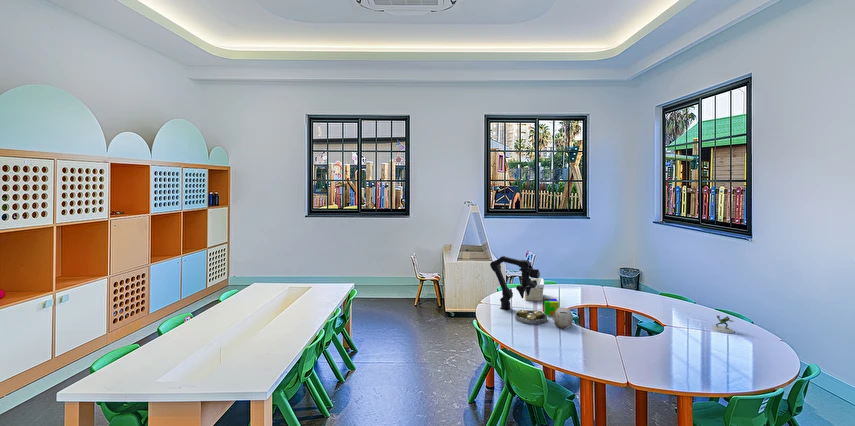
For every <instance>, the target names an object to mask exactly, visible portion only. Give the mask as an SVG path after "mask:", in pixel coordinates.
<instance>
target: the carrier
mask: <svg viewBox="0 0 855 426" xmlns="http://www.w3.org/2000/svg"><path fill="white" fill-rule="evenodd" d="M521 310H522V312H524V310H525V309H521ZM526 310H527V311H528V312H529V313H528V315H527V317H519V316H518V311H517V312H515V313H514V316H515V317H514V318H515V321H517V322H519V323H521V324H525V325H542V324H545V323H546V322H547V320H548V317H547V316H548V315H546V314H544V312H543V310H542V311H541V310H532V309H531V310H529V309H526Z"/></svg>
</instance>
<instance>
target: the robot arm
mask: <svg viewBox="0 0 855 426" xmlns="http://www.w3.org/2000/svg"><path fill="white" fill-rule="evenodd" d="M503 263H507V264H511V265H516V266H518V267H519V269H518V271H519V272H521V278H520V280H521V283H520V284H519V285H517V286H516V290H517V292H518V293H519V294H520V297H521V299H524V298H525V291H526V292H527V295H528V296H529V293H530V290H531V288H535V287H536V285H537V281H536V280H535V281H531V279H530V278H537V279H539V278H541V277H540V276H541V272H540V270H539V268H533V266H532V264H531V261H530V260H527V259H517V258H512V257H508V256H505V255H502V256H500V257H499V258H497V259H496V260H493V261H490V264H489V266H490V268H491V270H492V271H493V272H494V273H495V275H496V278H497V280H498V283H499V285H500V288H501V291H502V292H501V294H502V297H501V298H500V299H499V300H500V307H499V309H500V310H505V311H508V310H510V309H511V308H512V307H511V299H512V298H513V296H514V292H513V290H512V288H509V287H508V285H507V283H506V279H505V277H504V274H503V272H502V269H501V268H502V267H501V264H503Z"/></svg>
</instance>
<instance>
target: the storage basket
mask: <svg viewBox="0 0 855 426" xmlns="http://www.w3.org/2000/svg"><path fill="white" fill-rule="evenodd" d="M529 278H530V279H531V281H535V280H536V281H537V285H536V287H535V288H531V290H530V293H529V296H528V295H527V292H526V291H525V292H524V300H526V301H536V302H537V301H539V302H543V297H544V289H545V279H544V277H539V279H537V278H531V277H529Z"/></svg>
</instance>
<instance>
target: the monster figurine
mask: <svg viewBox="0 0 855 426" xmlns="http://www.w3.org/2000/svg"><path fill="white" fill-rule="evenodd" d="M716 318H717V320H718V321H719V322H718V323H716V324H715V325H712V326H711V329H712V330H713V331H715V332H717V333H723V334H734V333H735V330H734V329H733V328H731V327H729V324H728V323H727V322H730V323H733V322H735V320H730V318H731V317H729V316H725V317H723V318H721V315H720V314H719V315H716ZM723 324H724V325H723Z"/></svg>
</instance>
